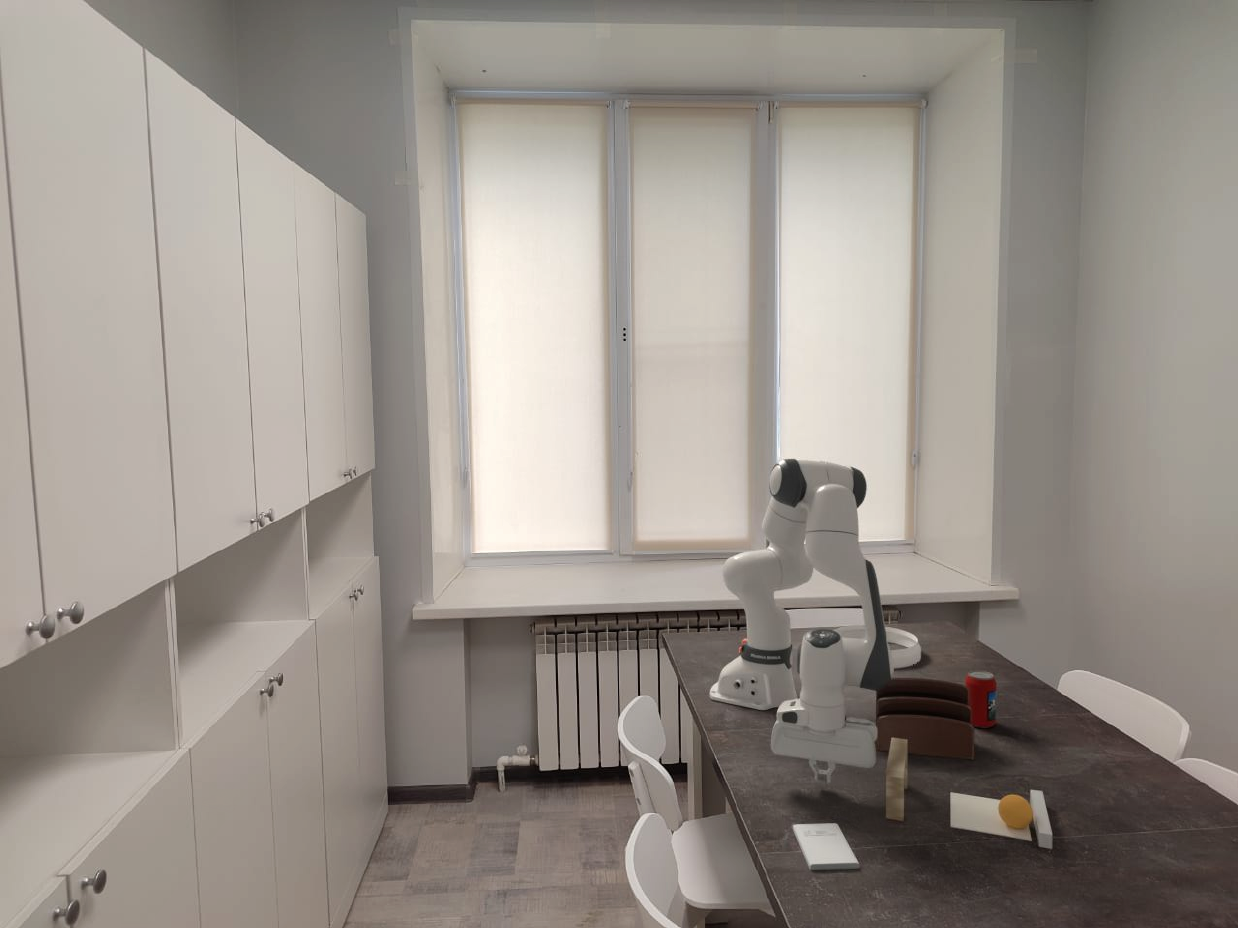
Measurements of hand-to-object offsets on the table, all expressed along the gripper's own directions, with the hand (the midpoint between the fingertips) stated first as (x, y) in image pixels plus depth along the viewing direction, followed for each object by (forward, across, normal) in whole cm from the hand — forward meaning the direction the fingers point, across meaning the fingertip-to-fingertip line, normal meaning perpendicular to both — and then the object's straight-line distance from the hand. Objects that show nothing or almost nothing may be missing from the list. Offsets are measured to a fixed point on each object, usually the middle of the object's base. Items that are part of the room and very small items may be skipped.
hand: (822, 780), depth 157 cm
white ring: (+2, -2, -89) cm, 89 cm away
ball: (-1, -34, +2) cm, 34 cm away
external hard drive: (+2, -3, +21) cm, 21 cm away
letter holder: (+2, -18, -27) cm, 33 cm away
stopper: (+2, -38, 0) cm, 39 cm away
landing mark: (+2, -30, 0) cm, 30 cm away
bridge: (+2, -14, 0) cm, 14 cm away
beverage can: (+2, -30, -44) cm, 53 cm away
